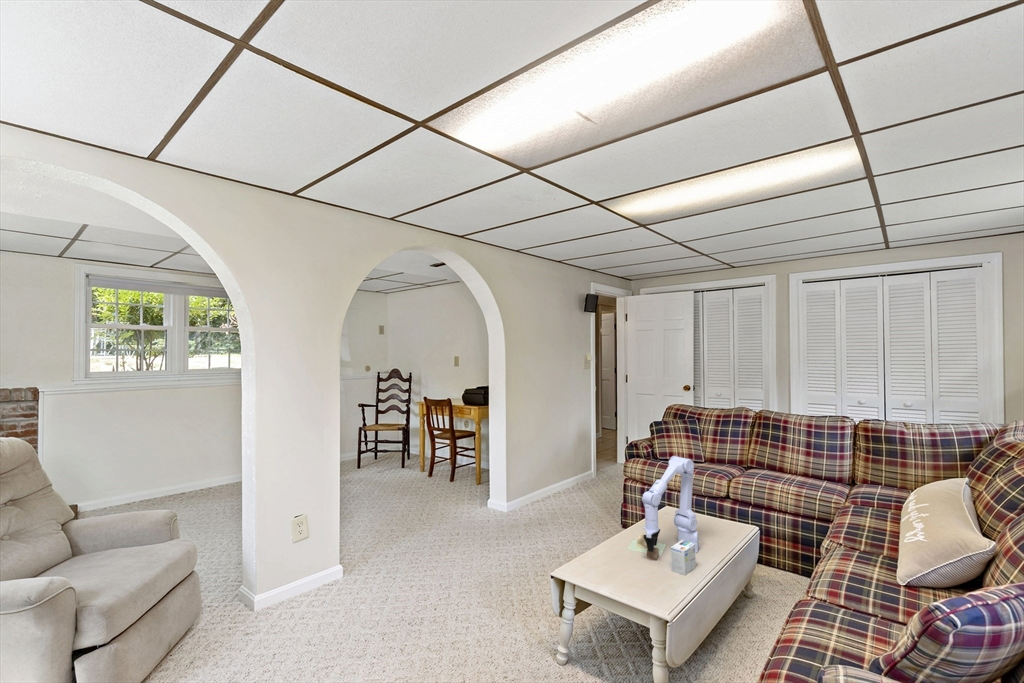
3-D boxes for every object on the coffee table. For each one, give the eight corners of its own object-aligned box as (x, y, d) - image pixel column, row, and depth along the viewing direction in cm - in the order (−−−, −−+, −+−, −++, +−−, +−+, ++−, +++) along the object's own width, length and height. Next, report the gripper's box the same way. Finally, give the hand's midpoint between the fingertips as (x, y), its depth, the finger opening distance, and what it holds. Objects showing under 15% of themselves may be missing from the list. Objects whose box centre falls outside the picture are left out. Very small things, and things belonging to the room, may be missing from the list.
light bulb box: (681, 563, 215) (681, 539, 216) (696, 567, 210) (695, 543, 211) (670, 571, 208) (669, 546, 208) (685, 576, 203) (684, 550, 203)
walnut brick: (658, 559, 220) (658, 548, 220) (656, 563, 216) (656, 551, 216) (648, 557, 222) (648, 546, 222) (646, 561, 218) (646, 550, 218)
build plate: (666, 546, 234) (666, 544, 234) (661, 557, 221) (661, 555, 221) (633, 541, 241) (633, 539, 241) (626, 551, 229) (626, 549, 229)
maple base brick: (652, 544, 234) (652, 536, 234) (650, 549, 228) (649, 540, 229) (640, 542, 237) (639, 534, 237) (637, 547, 231) (637, 538, 231)
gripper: (646, 512, 228) (646, 541, 227) (639, 522, 215) (640, 552, 215) (661, 514, 225) (662, 543, 224) (655, 524, 212) (656, 555, 211)
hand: (652, 548), depth 219 cm, fingers open, 7 cm apart
